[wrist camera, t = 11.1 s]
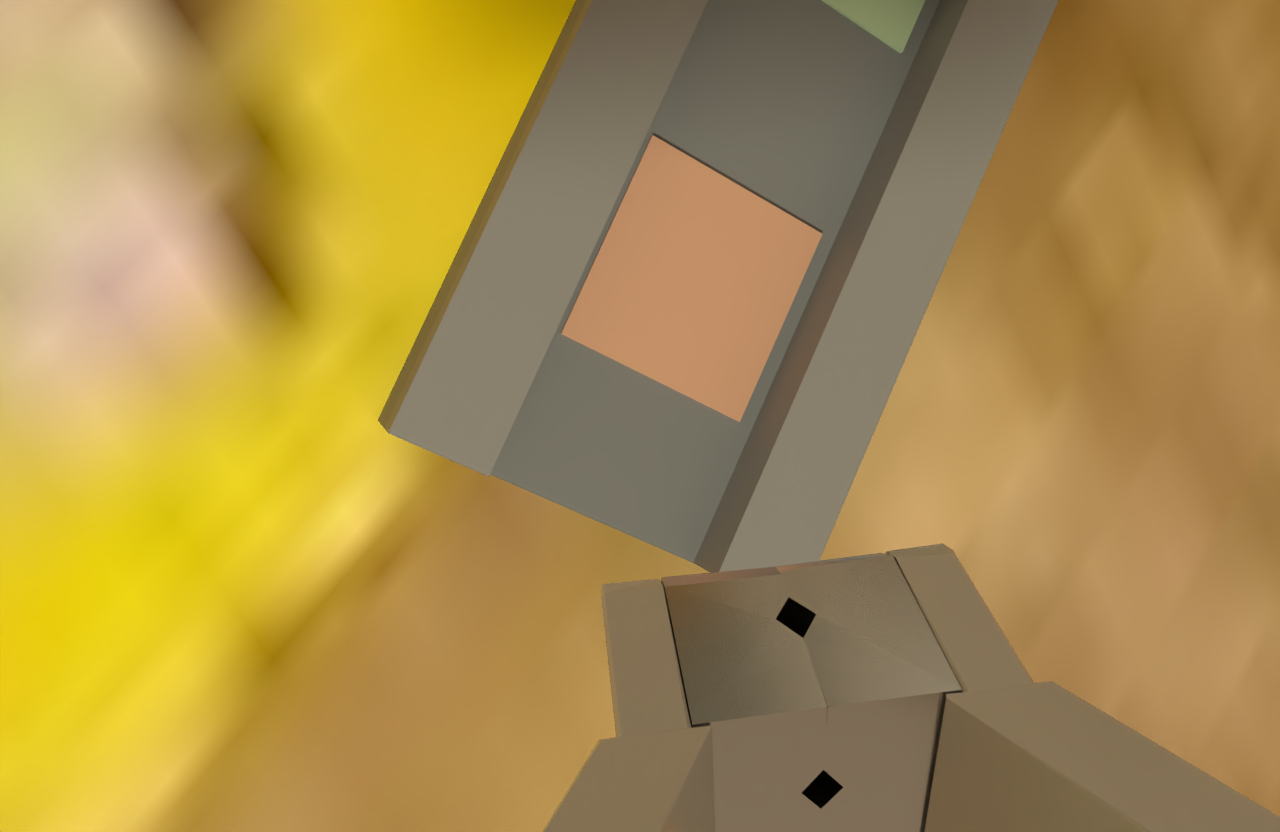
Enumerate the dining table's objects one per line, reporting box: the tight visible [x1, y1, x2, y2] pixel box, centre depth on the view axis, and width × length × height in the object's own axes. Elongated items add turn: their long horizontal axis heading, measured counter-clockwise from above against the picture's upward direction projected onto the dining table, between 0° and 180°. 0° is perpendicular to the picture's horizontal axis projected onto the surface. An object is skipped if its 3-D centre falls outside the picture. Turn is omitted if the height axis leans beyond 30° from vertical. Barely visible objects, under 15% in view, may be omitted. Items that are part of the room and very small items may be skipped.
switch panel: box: [378, 0, 1058, 573], centre depth 24 cm, size 22×10×4 cm, turn 155°
